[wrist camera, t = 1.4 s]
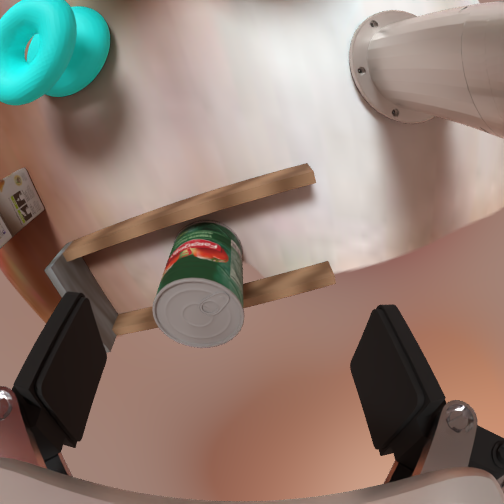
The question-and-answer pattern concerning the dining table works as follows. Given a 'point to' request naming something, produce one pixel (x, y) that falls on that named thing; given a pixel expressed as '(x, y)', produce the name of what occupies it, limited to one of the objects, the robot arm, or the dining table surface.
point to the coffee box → (17, 204)
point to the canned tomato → (202, 287)
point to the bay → (81, 279)
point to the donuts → (50, 50)
